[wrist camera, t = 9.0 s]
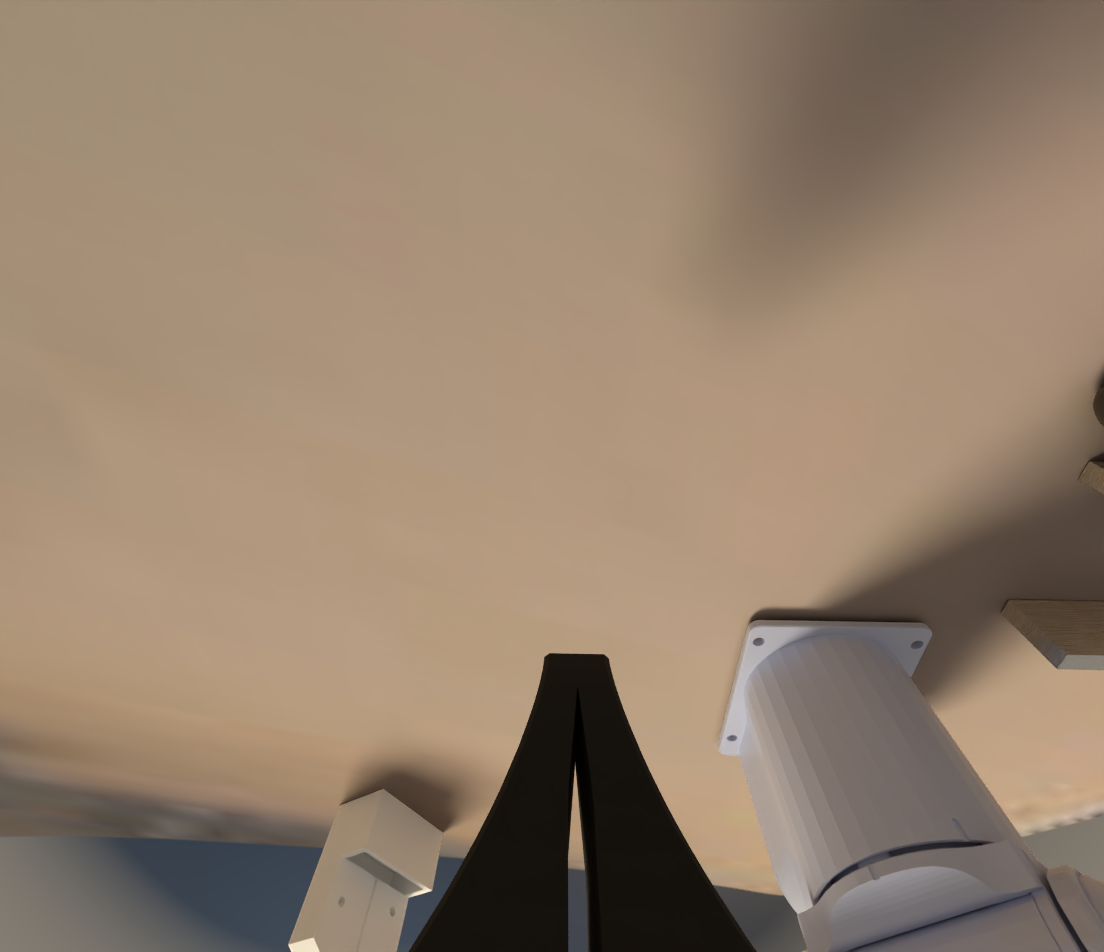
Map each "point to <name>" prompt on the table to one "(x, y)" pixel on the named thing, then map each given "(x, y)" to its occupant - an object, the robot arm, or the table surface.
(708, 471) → the table surface
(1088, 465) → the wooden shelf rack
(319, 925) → the white wedge bracket
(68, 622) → the table surface
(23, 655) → the table surface
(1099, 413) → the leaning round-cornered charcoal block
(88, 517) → the table surface
